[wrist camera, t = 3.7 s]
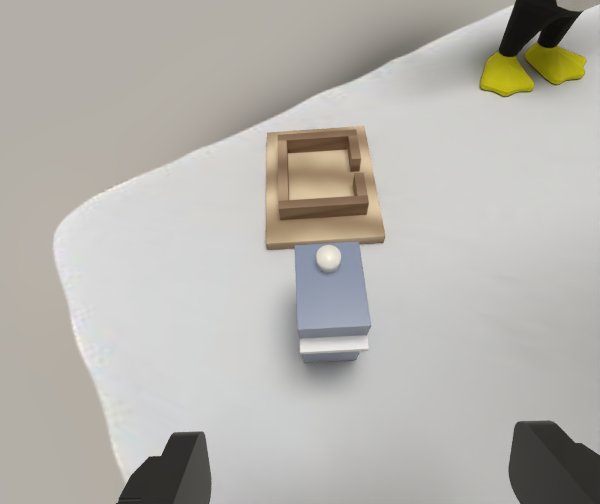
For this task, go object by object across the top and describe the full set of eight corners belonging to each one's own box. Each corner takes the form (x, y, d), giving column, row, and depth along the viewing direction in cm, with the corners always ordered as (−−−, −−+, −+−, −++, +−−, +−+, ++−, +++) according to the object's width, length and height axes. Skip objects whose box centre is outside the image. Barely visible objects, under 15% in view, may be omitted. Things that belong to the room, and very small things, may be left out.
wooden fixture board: (383, 242, 35) (388, 225, 32) (267, 249, 35) (263, 233, 32) (363, 133, 43) (366, 112, 40) (268, 140, 43) (264, 119, 40)
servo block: (357, 370, 29) (375, 335, 19) (304, 373, 29) (297, 340, 20) (347, 286, 33) (358, 222, 23) (301, 289, 33) (293, 227, 23)
